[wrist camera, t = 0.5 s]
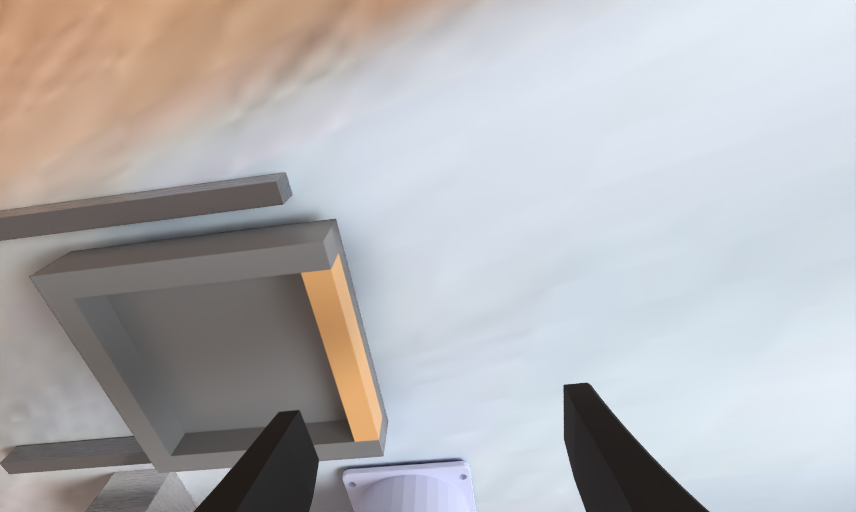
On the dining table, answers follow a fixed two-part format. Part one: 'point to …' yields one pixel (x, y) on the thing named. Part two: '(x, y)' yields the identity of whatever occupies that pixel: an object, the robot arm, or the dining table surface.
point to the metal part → (143, 493)
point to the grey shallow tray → (224, 341)
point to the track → (114, 214)
